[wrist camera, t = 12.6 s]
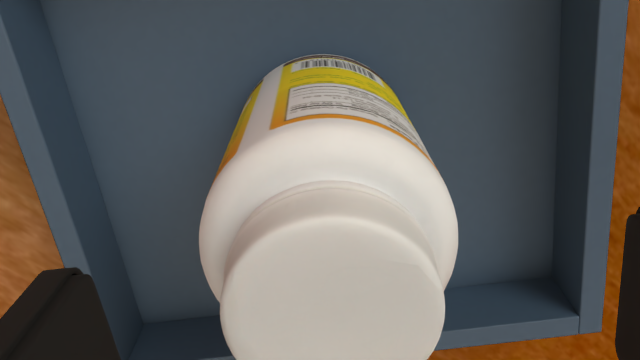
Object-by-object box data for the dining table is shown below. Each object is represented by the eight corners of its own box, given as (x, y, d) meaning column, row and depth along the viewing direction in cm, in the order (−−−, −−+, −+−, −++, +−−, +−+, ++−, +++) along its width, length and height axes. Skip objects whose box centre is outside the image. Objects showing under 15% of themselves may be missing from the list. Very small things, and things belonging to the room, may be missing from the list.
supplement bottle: (291, 229, 20) (272, 476, 11) (209, 99, 19) (101, 265, 9) (431, 162, 19) (539, 371, 10) (360, 17, 18) (412, 108, 8)
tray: (588, -172, 16) (645, -196, 13) (566, 283, 22) (602, 332, 19) (-5, -82, 17) (-68, -87, 14) (133, 333, 23) (108, 387, 20)
